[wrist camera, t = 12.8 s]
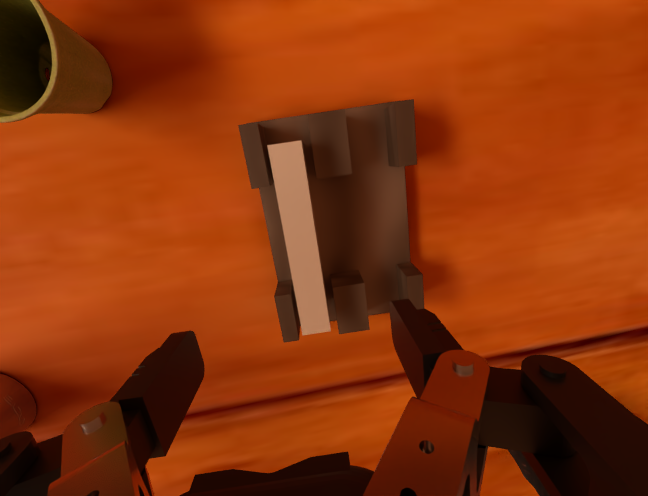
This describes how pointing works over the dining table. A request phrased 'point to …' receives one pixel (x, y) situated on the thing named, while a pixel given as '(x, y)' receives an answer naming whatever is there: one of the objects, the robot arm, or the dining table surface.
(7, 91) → the plant pot
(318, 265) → the clay strip
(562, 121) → the dining table surface
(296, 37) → the dining table surface
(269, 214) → the dark grey holder
